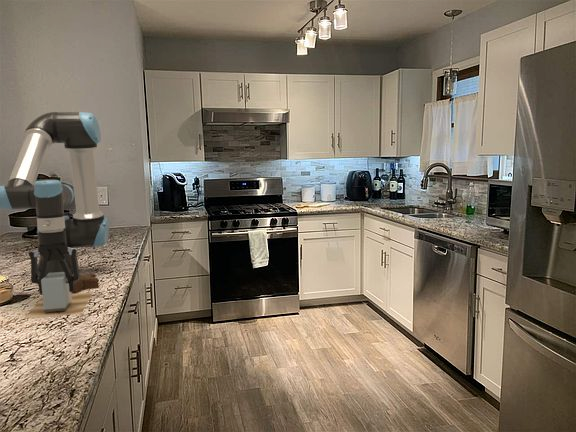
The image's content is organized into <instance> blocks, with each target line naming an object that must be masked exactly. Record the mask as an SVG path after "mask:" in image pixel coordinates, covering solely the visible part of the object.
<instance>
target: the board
mask: <svg viewBox="0 0 576 432" xmlns="http://www.w3.org/2000/svg"><path fill="white" fill-rule="evenodd" d="M93 294H94V292H93V291H91V292H78V293H71V296H72V302H71V303H70V304H69V306H68V307H67V309H66V310H63V311H52V312H44V308H43V296H42V297H41V298H40V299H39V301H37V303H36V304H35V305H34V306H33V307H32V308H31V309H30V310H29V312H27V314H26V315H25V316H24V317H23V320H27V319H37V318H38V319H39V318H49V317H50V318H51V317H59V316H61V317H62V316H63V317H64V316H70V315H71V316H72V315H82V314H83V311H84V310H85V309H86V306H87V304H88V303H89V301H90V299H91V297H92V296H93Z"/></svg>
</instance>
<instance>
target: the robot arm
mask: <svg viewBox="0 0 576 432" xmlns="http://www.w3.org/2000/svg"><path fill="white" fill-rule="evenodd" d="M22 140H23V144H22V146H21V148H20V150H19V151H20V152H19V153H18V156H17V159H16V162H15V164H14V166H13V169H12V172H11V174H10V177H9V178H8V179H9V180H8V182H7V184H6V185H0V210H28V209H29V210H30V209H35V210H36V222H37V223H36V224H37V225H36V229H37V230H36V234H37V242H38V248H37V249H36V250H35V249H34V250H30V251H29V252H28V256H29V258H30V273H31V274H30V277H31V278H30V279H31V283H32V284H36V285H38V292H39V294H40V295H42V285H41V280H42V279H43V278H44V277H45V276H46V275H47V274H48V273H55V272H64V273H65V275H66V277H67V280H68V281H67V282H66V291H67V303H70V302H71V301H72V296H71V294H72V292H73V291H74V281H75V280H78V279H79V277H80V275H81V273H80V269H79V262H78V248H97V247H103V246H105V245H106V244H107V242H108V238H109V233H110V221H109V218H108V217H105V215H104V212H103V211H101V210H100V204H99V195H98V194H99V193H98V183H97V182H98V181H97V176H96V175H97V174H96V173H97V172H96V163H95V157H94V156H95V153H94V151H95V150H96V149H97V148H98V144H99V143H101V141H102V138H101V128H100V125H99V121H98V119H97V117H96V116H95V114H93V113H92V112H84V111H74V112H73V111H70V112H69V111H68V112H67V111H66V112H65V111H59V112H57V111H50V112H46V113H43V114H41V115H39V116H38V117H36V118H35V119H33V120H32V121H31V122H30V123H29V124H28V126H27V127H26V128H25V131H24V132H23V135H22ZM53 144H64V149H65V150H66V151H67V152H69V158H70V168H71V175H72V184H73V185H72V186H73V188H72V187H71V186H69V185H68V184H63V183H62V182H61V181H60V180H57V179H45V180H37V179H38V177H39V176H38V175H39V173H40V170H41V167H42V165H43V161H44V159H45V156H46V153H47V150H49V149H50V148H51V146H52V145H53ZM73 200H74V201H73ZM72 202H74V203H75V213H74V214H73V215H72V219H70V216H69V215H65V211H64V208H66V207H67V206H69V205H71V203H72ZM38 257H39V258H38ZM73 275H74V276H73Z"/></svg>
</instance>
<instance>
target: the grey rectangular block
mask: <svg viewBox="0 0 576 432" xmlns="http://www.w3.org/2000/svg"><path fill="white" fill-rule="evenodd" d="M67 281H68V280H67V277H66V275H65V273H64V272H55V273H48V274H47V275H46V276H45V277H44V278H43V279H42V280H41V285H42V294H41V296H42V297H43V308H44V312H52V311H63V310H66V309H67V307H68V306H69V304H70V303H71V302H72V301H71V302H70V303H67V291H66V282H67Z"/></svg>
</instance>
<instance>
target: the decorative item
mask: <svg viewBox="0 0 576 432" xmlns="http://www.w3.org/2000/svg"><path fill="white" fill-rule="evenodd" d="M72 275H73V276H74V274H72ZM99 281H100V279H99V278H98V277H96V274H95V273H87V274H82V275H81V274H80V277H79V279H78V280H75V281H74V291H73V292H71V294H77V293H81V291H85V290H90V289H98V288H99V287H100V286H99Z"/></svg>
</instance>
